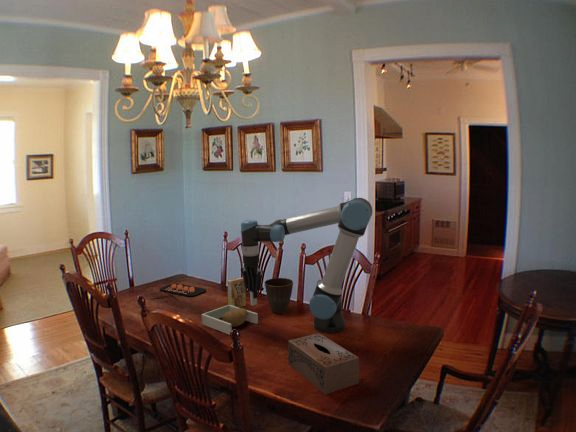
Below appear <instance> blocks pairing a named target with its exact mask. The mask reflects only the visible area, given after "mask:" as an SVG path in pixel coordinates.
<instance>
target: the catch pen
mask: <svg viewBox="0 0 576 432" xmlns="http://www.w3.org/2000/svg"><path fill="white" fill-rule="evenodd" d="M238 308H239V307H235V306H232V305H228V304H227V305H224V306H222V307H219V308H215V309H212V310H210V311H207V312H204V313H201V317H200V318H201V322H200V323H201V325H203V326H205V327H208V328H210V329H213V330H216V331H219V332H222V333H223V334H226V335H229V336H230V332H231V330H232V331H233V327H232V326H231V324H230V323H227V322H225V321H223V315H224V314H225V313H227V312H229V311H231V310H234V309H238ZM246 310H247V309H246ZM247 313H248V314H247V318H246V320H245V321H247V322H249V323H253V324H255V325H257V324H259V316H258V315H259V314H258V313H257V312H254V311H251V310H247Z"/></svg>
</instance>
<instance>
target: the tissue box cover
mask: <svg viewBox="0 0 576 432" xmlns="http://www.w3.org/2000/svg"><path fill="white" fill-rule="evenodd" d="M287 352H288V353H287V355H288V359H287V361H288V364H287V365H289V366H290V368H292V369H293V370H295V371H296V372H297V373H298V374H300V375H301V376H302V377H303V378H305V380H307V381H308V382H309V383H310V384H312V385H313V386H314V387H316V388H317V389H318V390H319V391H320V392H321V393H323V394H324V395H328V394H331V393H334V392H337V391H340V390H343V389H346V388H348V387H353V386H355V385H358V384H359V383H360V357H359V356H358V355H355V354H353V353H352V352H350V351H349V350H347V349H346V348H344V347H342V346H341V345H339V344H337V342H335V341H334V340H332V339H330V338H329V337H326V336H325V335H324V334H321V332H317V333H313V334H309V335H305V336H301V337H298V338H292V339H289V340H288V341H287Z"/></svg>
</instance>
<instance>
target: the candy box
mask: <svg viewBox="0 0 576 432" xmlns="http://www.w3.org/2000/svg"><path fill="white" fill-rule="evenodd" d="M246 301H247V300H246V288H245V283H244V279H243V277H237V278H232V279H228V280H227V302H228V304H227V305H232V306H235V307H238V308H243V307H245V306H246Z"/></svg>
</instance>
